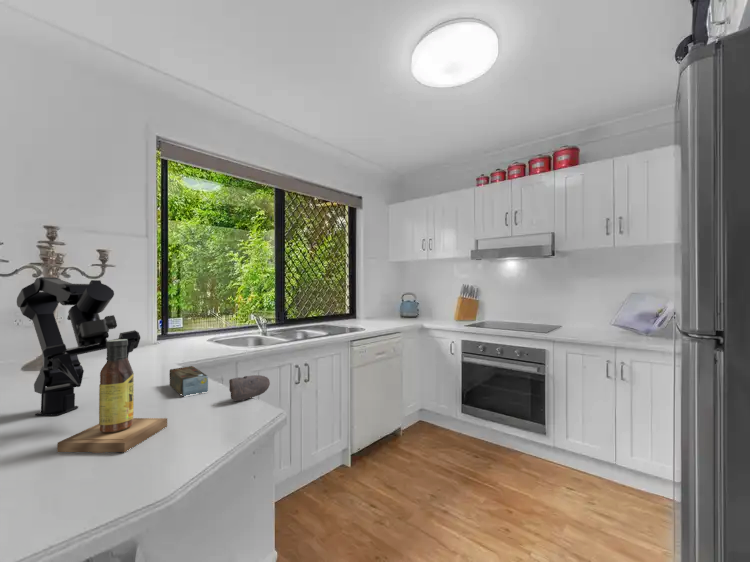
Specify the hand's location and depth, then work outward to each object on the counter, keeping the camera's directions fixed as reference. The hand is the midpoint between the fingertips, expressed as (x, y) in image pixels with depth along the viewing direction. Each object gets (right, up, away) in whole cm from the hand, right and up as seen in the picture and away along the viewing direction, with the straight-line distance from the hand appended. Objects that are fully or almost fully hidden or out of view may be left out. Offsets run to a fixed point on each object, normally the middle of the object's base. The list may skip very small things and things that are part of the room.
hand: (103, 377), depth 83 cm
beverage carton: (+2, -14, +34) cm, 37 cm away
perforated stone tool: (+26, -13, +25) cm, 39 cm away
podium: (+8, -12, -6) cm, 15 cm away
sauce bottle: (+7, -10, -6) cm, 14 cm away
